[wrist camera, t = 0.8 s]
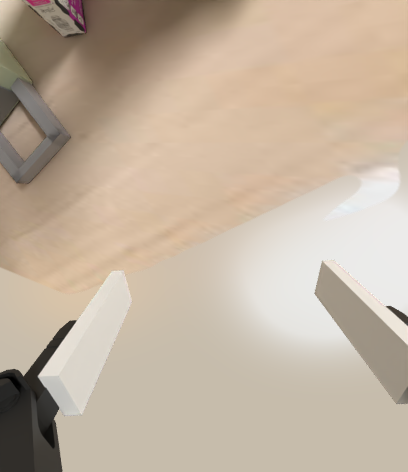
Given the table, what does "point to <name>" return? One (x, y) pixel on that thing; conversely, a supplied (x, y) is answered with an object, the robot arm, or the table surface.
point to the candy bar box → (61, 15)
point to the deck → (20, 88)
